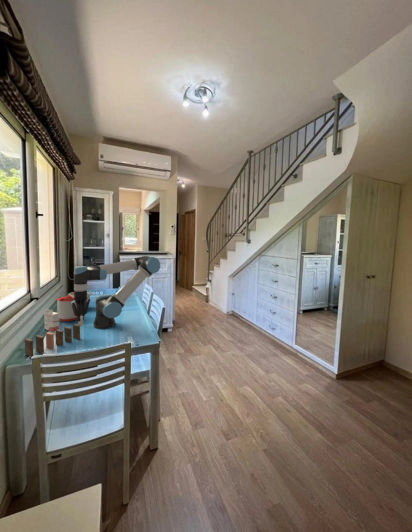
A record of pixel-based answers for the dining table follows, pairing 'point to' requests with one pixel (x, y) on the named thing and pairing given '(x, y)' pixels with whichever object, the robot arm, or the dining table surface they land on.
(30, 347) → the domino
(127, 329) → the dining table surface
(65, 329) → the domino
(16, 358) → the dining table surface
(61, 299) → the citrus juicer
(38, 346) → the domino
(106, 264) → the robot arm
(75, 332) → the domino
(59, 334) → the domino
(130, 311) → the dining table surface
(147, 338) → the dining table surface
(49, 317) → the ink cartridge box
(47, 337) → the domino
